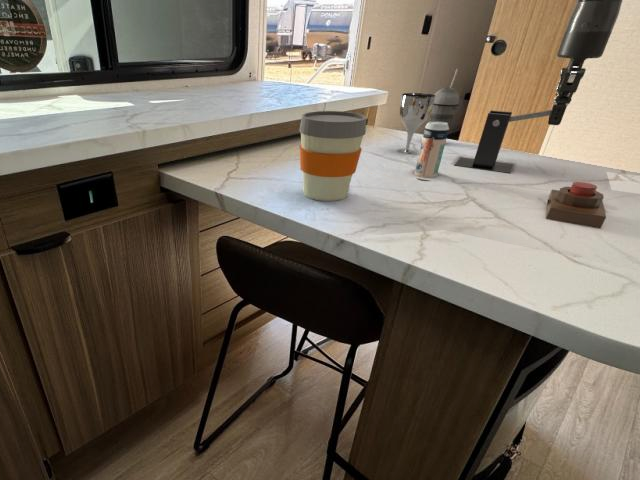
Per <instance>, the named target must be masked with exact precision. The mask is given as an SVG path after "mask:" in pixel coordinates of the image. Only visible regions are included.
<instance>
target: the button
mask: <svg viewBox="0 0 640 480" xmlns="http://www.w3.org/2000/svg"><path fill="white" fill-rule="evenodd" d="M570 187H571V188H570V191H569V192H570V193H572V194H576V195H581V196H593V195H594V193H595V191H597V188H598V186H597V185H596V184H594V183H590V182H585V181H574V182H573V183H572V184H571V186H570Z"/></svg>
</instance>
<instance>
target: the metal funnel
mask: <svg viewBox="0 0 640 480" xmlns="http://www.w3.org/2000/svg"><path fill="white" fill-rule="evenodd" d="M435 97H436V96H435V94H433V93H432V94H431V93H424V92H423V93H422V92H405V93H402V94H401V97H400V104H399V118H400V121H401V123H402V124H403V126H404V128H405V130H406V133H407V137H406V146H405V150H404V151H403V152H402V153H403V154H406V155H409V154H410V151H409V150H410V145H411V143H412V139H413V137H414V135H415V133H416V131H417V130H418V129H419V128H420V127H422V126H423V125H424V124H425V123H426V122H427V121H428V120H429V117H430V113H431V111H432V108H433V105H434V101H435Z"/></svg>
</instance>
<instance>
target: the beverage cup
mask: <svg viewBox="0 0 640 480" xmlns="http://www.w3.org/2000/svg"><path fill="white" fill-rule="evenodd" d="M458 72H459V69H458V68H456V69H455V72H454V74H453V78H452V80H451V83H450V86H449V87H443V88H439V90H438V91H436V92H435V93H434V95H435V96H436V97H435V101H434V105H433V108H432V111H431V113H430V115H429V118H428V122H431V121H439V122H446V123H448V127H449V128H450V127H451V123H452V121H453V119H454V115H455V113H456V112H457V109H458V106H459V104H460V103H459V102H460V97H459V93H458V92H457V90H456V89H455V88H453V86H454V83H455V80H456V77H457V74H458Z"/></svg>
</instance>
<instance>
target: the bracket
mask: <svg viewBox="0 0 640 480" xmlns="http://www.w3.org/2000/svg"><path fill="white" fill-rule="evenodd" d="M512 114H513V111H502V110H490V112H488V113H487V116H486V120H485V122H484V125H483V129H482V132H481V135H480V139H479V143H478V145H477V149H476V153H475V156H474V158H471V157H464V156H460V157H459V158H458V159H457V161H456V162H455V163H454V165H453V167H460V168H466V169H467V168H468V169H473V170H481V171H487V172H495V173H502V174H511V172H512V169H513V167H514V163H512V162H511V163H509V162H502V161H497V159H498V156H499V153H500V150H501V148H502V145H503V142H504V138H505V135H506V132H507V129H508V127H509V123H510V122H508V121H509V118H510V117H511V116H512Z"/></svg>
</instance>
